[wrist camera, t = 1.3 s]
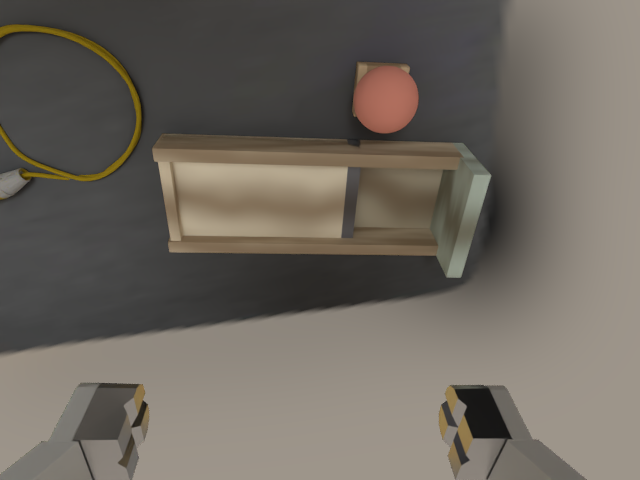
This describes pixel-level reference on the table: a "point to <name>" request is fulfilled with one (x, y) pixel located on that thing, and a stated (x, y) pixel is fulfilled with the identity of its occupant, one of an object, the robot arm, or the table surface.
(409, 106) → the ball
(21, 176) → the extension cord
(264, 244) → the tray
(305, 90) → the table surface
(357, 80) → the hollow square frame
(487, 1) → the table surface
